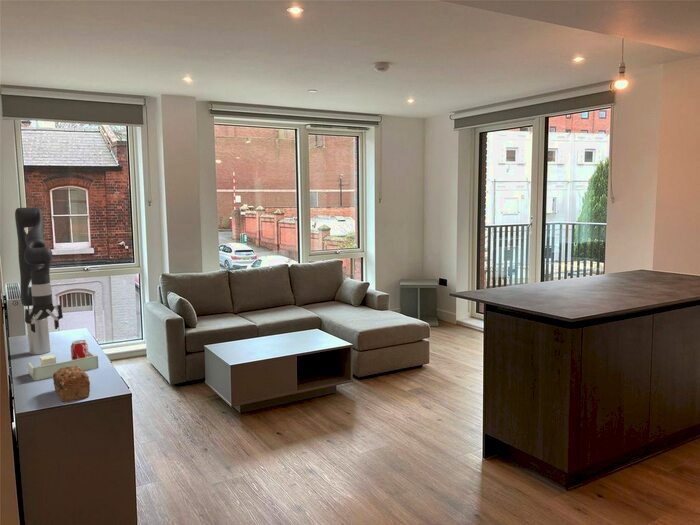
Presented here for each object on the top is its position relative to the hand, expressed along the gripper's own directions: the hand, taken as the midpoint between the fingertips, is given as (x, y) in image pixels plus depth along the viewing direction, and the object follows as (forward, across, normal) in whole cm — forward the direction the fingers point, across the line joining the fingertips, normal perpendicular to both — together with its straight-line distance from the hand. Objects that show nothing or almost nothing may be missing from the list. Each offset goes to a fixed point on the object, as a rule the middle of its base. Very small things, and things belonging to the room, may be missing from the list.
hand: (45, 330), depth 240 cm
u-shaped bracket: (+19, -6, 0) cm, 20 cm away
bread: (+20, -1, +35) cm, 40 cm away
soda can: (+20, -13, 0) cm, 24 cm away
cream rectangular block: (+20, 0, 0) cm, 20 cm away
